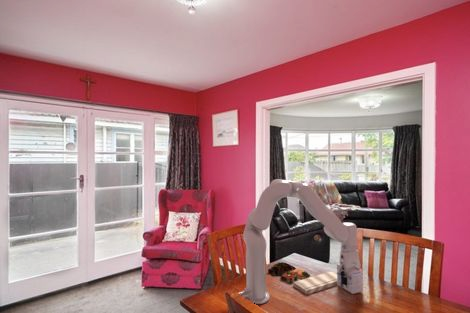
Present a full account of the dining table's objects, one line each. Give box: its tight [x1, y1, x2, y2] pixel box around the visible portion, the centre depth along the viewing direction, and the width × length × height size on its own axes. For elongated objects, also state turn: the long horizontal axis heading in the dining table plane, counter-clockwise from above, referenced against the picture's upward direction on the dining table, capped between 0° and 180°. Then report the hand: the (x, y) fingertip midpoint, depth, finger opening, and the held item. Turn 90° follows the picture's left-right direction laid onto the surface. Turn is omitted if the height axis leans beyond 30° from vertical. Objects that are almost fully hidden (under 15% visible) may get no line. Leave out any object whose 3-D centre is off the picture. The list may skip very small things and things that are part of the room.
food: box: [267, 261, 311, 284], centre depth 150 cm, size 22×19×4 cm
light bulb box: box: [336, 263, 364, 295], centre depth 131 cm, size 11×7×11 cm, turn 21°
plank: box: [292, 270, 339, 295], centre depth 137 cm, size 28×10×2 cm, turn 117°
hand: (349, 282), depth 131 cm, fingers closed on light bulb box, 7 cm apart
